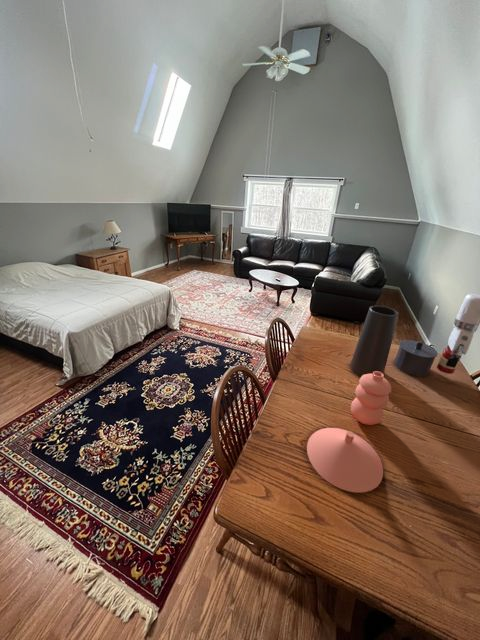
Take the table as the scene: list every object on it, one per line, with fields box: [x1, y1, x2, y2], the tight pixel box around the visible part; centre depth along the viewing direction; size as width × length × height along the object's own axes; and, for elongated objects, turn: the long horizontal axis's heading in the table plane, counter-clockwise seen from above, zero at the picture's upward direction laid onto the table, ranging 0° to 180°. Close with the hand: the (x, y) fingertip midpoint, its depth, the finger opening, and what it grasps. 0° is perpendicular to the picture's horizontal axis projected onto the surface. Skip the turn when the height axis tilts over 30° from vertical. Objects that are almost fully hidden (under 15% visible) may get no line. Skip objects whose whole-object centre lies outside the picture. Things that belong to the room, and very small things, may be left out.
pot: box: [393, 346, 436, 377], centre depth 120 cm, size 14×14×10 cm
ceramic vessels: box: [306, 371, 392, 494], centre depth 79 cm, size 35×21×19 cm, turn 140°
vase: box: [349, 305, 400, 378], centre depth 112 cm, size 14×14×29 cm
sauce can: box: [436, 347, 462, 375], centre depth 114 cm, size 6×6×9 cm
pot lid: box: [398, 339, 439, 359], centre depth 118 cm, size 15×15×4 cm
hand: (448, 361), depth 115 cm, fingers closed on sauce can, 6 cm apart
